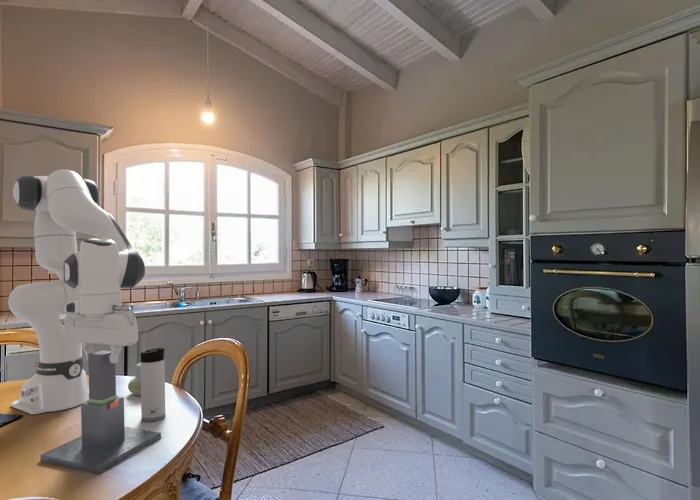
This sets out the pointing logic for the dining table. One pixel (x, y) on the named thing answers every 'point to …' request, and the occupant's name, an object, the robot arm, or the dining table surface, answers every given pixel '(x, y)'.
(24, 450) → the dining table surface
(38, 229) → the robot arm
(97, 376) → the post
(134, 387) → the air freshener
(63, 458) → the stand
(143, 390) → the travel mug
